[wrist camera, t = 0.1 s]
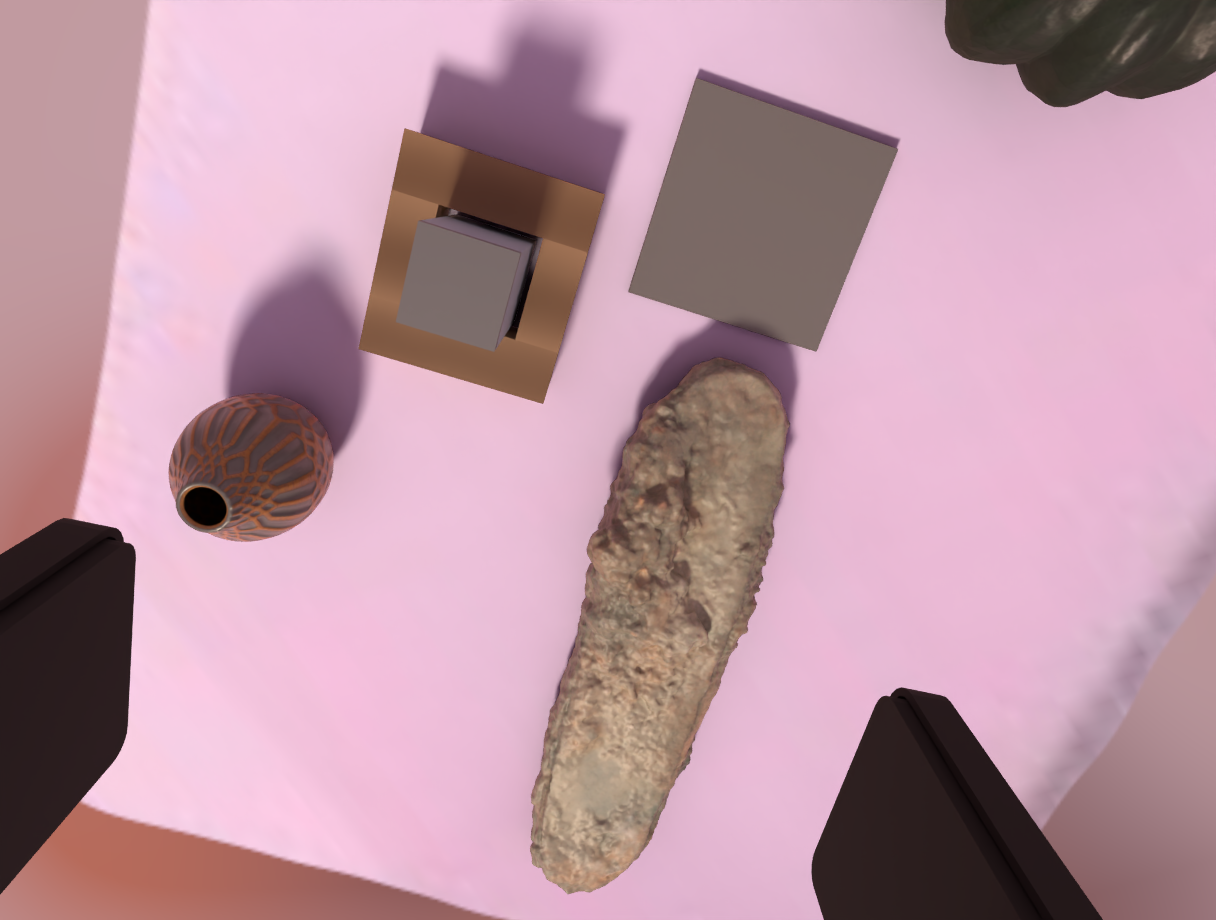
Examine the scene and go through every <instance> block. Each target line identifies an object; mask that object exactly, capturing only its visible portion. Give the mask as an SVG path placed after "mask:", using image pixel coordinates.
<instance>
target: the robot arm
mask: <svg viewBox="0 0 1216 920" xmlns="http://www.w3.org/2000/svg"><path fill="white" fill-rule="evenodd" d="M135 563H136V554H135V549H134V546H132V545H131V544H130V543H125V542H124V539H123V536H122V534H121V532H120V531H119V530H118V529H117V528H113V527H108V526H103V525H98V524H93V523H88V522H83V521H78V520H73V519H67V518H63V519H60V520H57V521H55V522H54V523H52V524H50V525H49V526H47V527H45V528H44V529H42V530H41V531H39V532H37V533H35V534H34V535H32V536H30V537H29V538H27V539H25V540H24V541H22V542H20V543H19V544H17V545H15V546H14V547H12V548H10V549H9V550H7V551H5V552H4V553H2V554H1V555H0V894H1V893H2V892H3V890H5V888H6V887H7V886H8V885H9V884H10V883H11V881H12V880H13V879H14V878H15V877H16V875H17V874H18V873H19V872H20V871H21V870H22V868H23V867H24V866H25V865H26V864H27V862H28V861H29V860H30V859H31V858H32V856H34V854H35V853H36V852H37V851H38V850H39V848H40V847H41V846H42V845H43V844H44V843H45V841H46V840H47V839H48V838H49V837H50V836H51V834H52V833H53V832H54V831H55V830H56V829H57V827H58V826H59V825H60V824H61V823H62V822H63V820H64V819H65V818H66V817H67V816H68V815H69V813H70V812H71V811H72V810H73V808H74V807H75V806H76V805H77V804H78V803H79V802H80V801H81V799H82V798H83V797H84V796H85V795H86V793H87V792H88V791H89V790H90V789H91V788H92V786H93V785H94V784H95V783H96V782H97V781H98V779H99V778H100V777H101V776H102V775H103V774H104V772H105V771H106V770H107V769H108V768H109V767H110V765H111V764H112V763H113V762H114V760H115V759H116V757H117V756H118V754H119V752H120V750H121V748H122V746H123V744H124V741H125V738H126V734H127V727H128V708H129V687H130V666H131V646H132V625H133V604H134V583H135ZM812 882H813V886H814V889H815V893H816V896H817V899H818V902H819V905H820V909H821V912H822V915H823V918H824V920H1103V919H1102V918H1101V916H1100V915H1099V913H1098V912H1097V911H1096V909H1095V908H1094V906H1093V905H1092V904H1091V902H1090V901H1089V899H1088V898H1087V896H1086V895H1085V893H1084V892H1083V891H1082V889H1081V888H1080V886H1079V885H1078V883H1077V882H1076V881H1075V879H1074V878H1073V876H1072V875H1071V874H1070V872H1069V871H1068V869H1067V868H1066V866H1065V865H1064V864H1063V862H1062V861H1061V859H1060V858H1059V856H1058V855H1057V853H1056V852H1055V851H1054V849H1053V848H1052V846H1051V845H1050V843H1049V842H1048V840H1047V839H1046V838H1045V836H1044V835H1043V833H1042V832H1041V830H1040V829H1039V828H1038V826H1037V825H1036V823H1035V822H1034V820H1033V819H1032V818H1031V816H1030V815H1029V813H1028V812H1027V810H1026V809H1025V808H1024V806H1023V805H1022V803H1021V802H1020V800H1019V799H1018V798H1017V796H1016V795H1015V793H1014V792H1013V790H1012V789H1011V788H1010V786H1009V785H1008V783H1007V782H1006V780H1005V779H1004V778H1003V776H1002V775H1001V773H1000V772H999V770H998V769H997V768H996V766H995V765H994V763H993V762H992V760H991V759H990V758H989V756H988V755H987V753H986V752H985V750H984V749H983V748H982V746H981V745H980V743H979V742H978V740H977V739H976V738H975V736H974V735H973V733H972V732H971V730H970V729H969V728H968V726H967V725H966V723H965V722H964V720H963V719H962V718H961V716H960V715H959V713H958V712H957V710H956V709H955V708H954V706H953V705H952V703H951V702H950V701H949V700H948V699H947V698H946V697H944V696H941V695H936V694H932V693H927V692H922V691H917V690H912V689H907V688H902V687H901V688H898V689H896V690H895V691H894V692H893V693H892V694H891V696H890V697H889V696H883V697H881V698H880V699H879V700H878V702H877V704H876V705H875V708H874V710H873V712H872V715H871V717H870V720H869V722H868V724H867V727H866V729H865V732H864V734H863V736H862V739H861V741H860V744H859V746H858V749H857V751H856V753H855V756H854V758H853V761H852V763H851V765H850V768H849V770H848V773H847V775H846V777H845V780H844V782H843V785H842V787H841V789H840V792H839V794H838V797H837V799H836V801H835V804H834V806H833V809H832V811H831V813H830V816H829V818H828V821H827V823H826V826H825V828H824V830H823V833H822V835H821V838H820V840H819V842H818V845H817V847H816V850H815V852H814V856H813V860H812Z"/></svg>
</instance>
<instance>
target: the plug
mask: <svg viewBox="0 0 1216 920" xmlns="http://www.w3.org/2000/svg"><path fill="white" fill-rule="evenodd" d="M536 243H537V240H535V239H532V238H529V237H526V236H523V235H520V234H516V233H513V232H510V231H507V230H504V229H501V228H498V227H495V226H492V225H488V224H485V223H482V222H479V221H476V220H473V219H470V218H467V217H463V216H460V215H451V216H444V217H438V218H432V219H426V220H419V221H418V224H417V228H416V233H415V237H414V242H413V246H412V251H411V255H410V260H409V264H408V269H407V273H406V278H405V282H404V287H403V291H402V296H401V300H400V305H399V309H398V314H397V318H396V322H397V323H400V324H404V325H407V326H410V327H413V328H417V329H420V330H423V331H427V332H430V333H433V334H437V335H440V336H443V337H446V338H450V339H453V340H456V341H460V342H463V343H466V344H470V345H473V346H476V347H479V348H483V349H486V350H489V351H493V352H494V351H495V350H496V348H497V347H498V345H499V344H500V342H501V341H502V339H503V338H504V336H505V335H506V333H507V331H508V330H509V328H510V327H511V325H512V324H513V322H514V321H515V319H516V316H517V312H518V309H519V305H520V301H521V298H522V294H523V290H524V287H525V283H526V279H527V276H528V272H529V268H530V265H531V261H532V257H533V254H534V250H535V246H536Z"/></svg>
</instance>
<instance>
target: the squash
mask: <svg viewBox="0 0 1216 920" xmlns="http://www.w3.org/2000/svg"><path fill="white" fill-rule="evenodd" d="M945 33H946V36H947V38H948V41H949V44H950V46H951V48H952V49H953V50H954V51H955V52H956V53H958V54H959V55H961V56H962V57H964V58H966V59H969V60H974V61H979V62H985V63H993V64H1002V65H1007V64H1016V66H1017V69H1018V72H1019V75H1020V77H1021V80H1022V83H1023V84H1024V86H1025V87H1026V89H1027V90H1028V91H1030V92H1032V93H1033V94H1034V95H1035V96H1037V97H1038V98H1039V99H1041V100H1042V101H1043V102H1044V103H1045V104H1048V105H1050V106H1053V107H1068V106H1072V105H1075V104H1078V103H1080V102H1083V101H1085V100H1087V99H1089V98H1092V97H1094V96H1096V95H1098V94H1100V93H1102V92H1104V91H1108V92H1110V93H1112V94H1114V95H1117V96H1121V97H1128V98H1136V99H1144V98H1148V97H1152V96H1156V95H1160V94H1164V93H1168V92H1172V91H1175V90H1179V89H1182V88H1185V87H1187V86H1190V85H1192V84H1195V83H1196V82H1198V81H1200V80H1202V79H1204V78H1206V77H1207V76H1209V75H1210V74H1212V73H1214V72H1215V71H1216V0H946V16H945Z"/></svg>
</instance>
